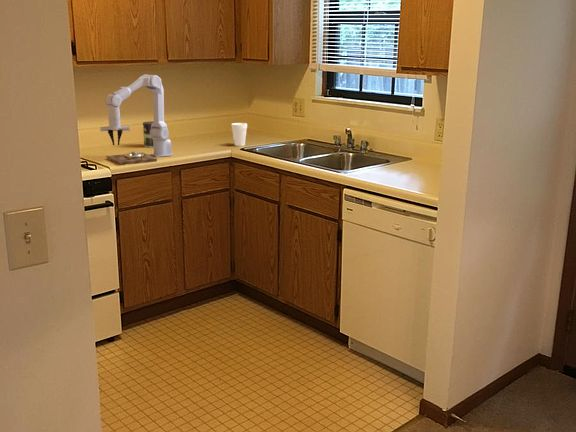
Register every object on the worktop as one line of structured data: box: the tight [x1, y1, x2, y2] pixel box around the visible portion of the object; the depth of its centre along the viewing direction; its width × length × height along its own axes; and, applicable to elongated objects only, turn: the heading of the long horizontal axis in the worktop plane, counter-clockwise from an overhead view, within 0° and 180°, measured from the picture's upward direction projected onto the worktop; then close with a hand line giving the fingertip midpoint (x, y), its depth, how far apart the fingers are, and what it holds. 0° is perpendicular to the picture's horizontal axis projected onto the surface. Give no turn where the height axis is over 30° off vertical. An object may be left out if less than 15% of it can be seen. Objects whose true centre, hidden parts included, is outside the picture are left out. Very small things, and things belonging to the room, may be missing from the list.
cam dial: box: [124, 151, 144, 159], centre depth 327 cm, size 14×10×3 cm
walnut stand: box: [106, 152, 158, 166], centre depth 327 cm, size 20×20×4 cm
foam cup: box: [231, 122, 248, 147], centre depth 373 cm, size 10×9×13 cm
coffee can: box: [142, 120, 154, 149], centre depth 367 cm, size 10×10×14 cm
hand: (116, 144), depth 318 cm, fingers closed
